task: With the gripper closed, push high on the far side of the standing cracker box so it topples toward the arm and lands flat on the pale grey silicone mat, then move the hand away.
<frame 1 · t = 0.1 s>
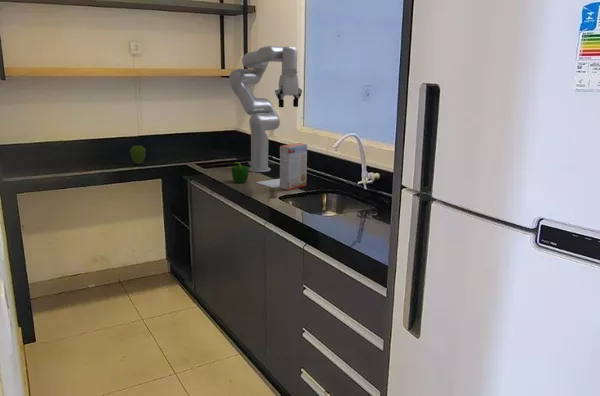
hand: (288, 107, 260), 37 cm above the countertop, tool pointing down, fingers open, 9 cm apart
mat: (278, 183, 256), on the countertop
bell pepper: (240, 182, 256), on the countertop
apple: (138, 164, 293), on the countertop
cracker box: (292, 187, 248), on the countertop
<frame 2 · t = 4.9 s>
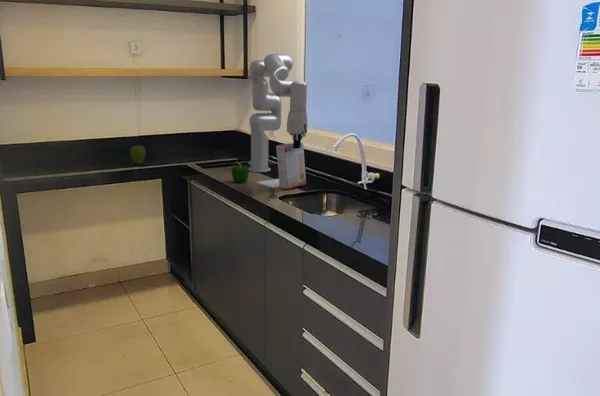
hand: (296, 148, 241), 19 cm above the countertop, tool pointing down, fingers closed
cracker box: (292, 187, 248), on the countertop, touching gripper
everything else where it was.
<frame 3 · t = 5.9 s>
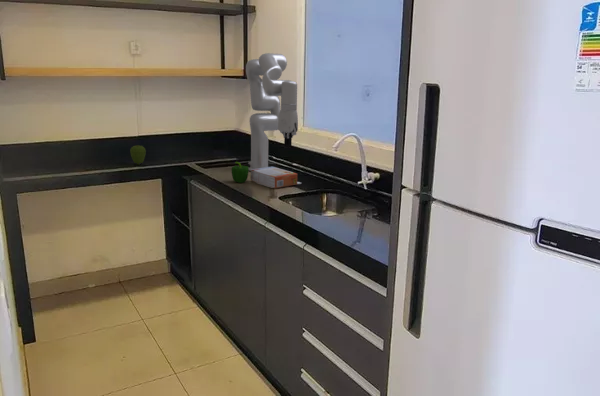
hand: (287, 146, 246), 19 cm above the countertop, tool pointing down, fingers closed
cracker box: (286, 181, 246), point 3 cm above the countertop, touching mat
everything else where it was.
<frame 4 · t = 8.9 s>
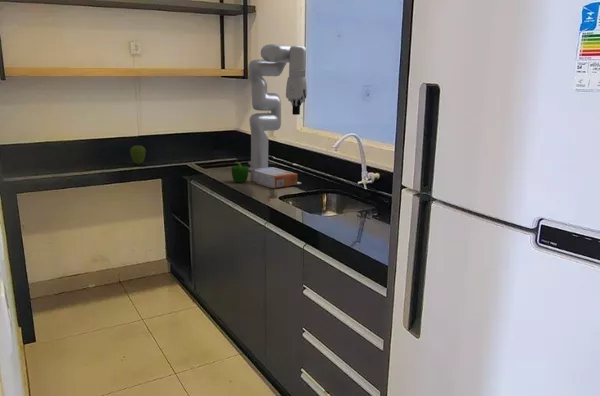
hand: (296, 114, 239), 35 cm above the countertop, tool pointing down, fingers closed
nothing on the countertop moved.
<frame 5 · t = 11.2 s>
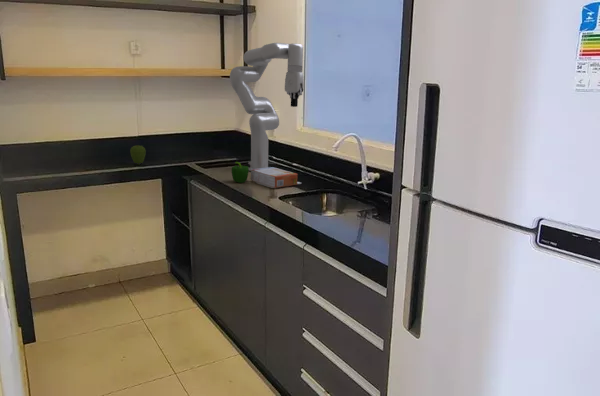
hand: (294, 106, 260), 37 cm above the countertop, tool pointing down, fingers closed
nothing on the countertop moved.
at the end: cracker box tilted 89°; cracker box inside the target area (4.1 cm from its centre), point 3.2 cm above the countertop; cracker box moved 4.4 cm from its start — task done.
